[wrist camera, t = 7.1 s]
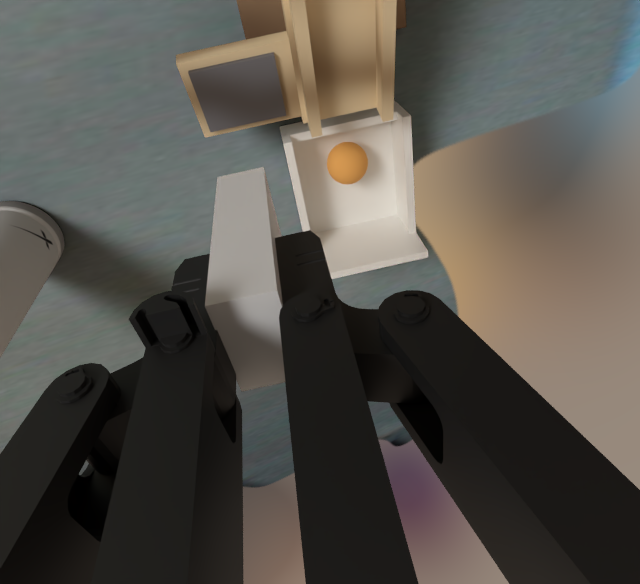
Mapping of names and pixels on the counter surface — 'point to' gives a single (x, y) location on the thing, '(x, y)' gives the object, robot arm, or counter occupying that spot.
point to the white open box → (357, 191)
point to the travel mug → (24, 261)
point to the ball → (347, 163)
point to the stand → (282, 17)
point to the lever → (298, 68)
